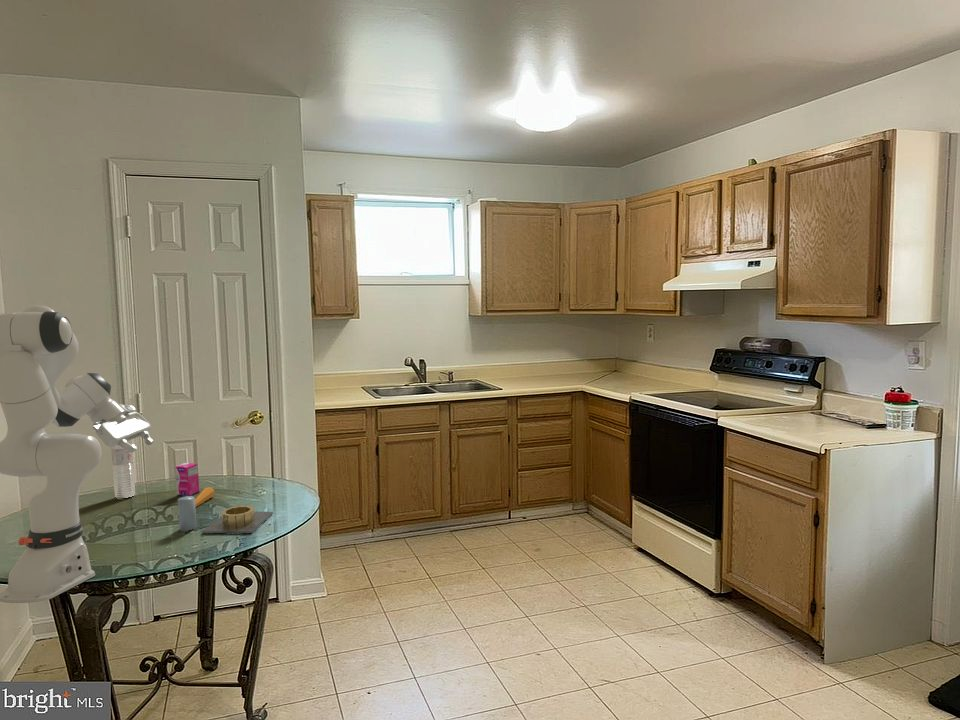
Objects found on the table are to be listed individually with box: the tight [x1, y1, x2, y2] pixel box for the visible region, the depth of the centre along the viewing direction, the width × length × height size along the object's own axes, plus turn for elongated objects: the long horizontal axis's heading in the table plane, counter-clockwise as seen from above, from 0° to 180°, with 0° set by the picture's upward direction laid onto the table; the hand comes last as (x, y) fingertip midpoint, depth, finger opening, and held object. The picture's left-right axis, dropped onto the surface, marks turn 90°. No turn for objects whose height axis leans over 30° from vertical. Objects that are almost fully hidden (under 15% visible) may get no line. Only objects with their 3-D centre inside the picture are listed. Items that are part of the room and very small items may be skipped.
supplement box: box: [174, 462, 200, 497], centre depth 249 cm, size 6×6×12 cm
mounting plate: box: [201, 511, 274, 534], centre depth 215 cm, size 18×16×1 cm
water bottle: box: [110, 440, 136, 499], centre depth 247 cm, size 7×7×25 cm
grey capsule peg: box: [177, 495, 198, 532], centre depth 211 cm, size 5×5×10 cm
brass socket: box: [221, 505, 256, 526], centre depth 214 cm, size 10×10×4 cm
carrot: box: [195, 486, 215, 508], centre depth 236 cm, size 20×4×4 cm, turn 175°
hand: (143, 447), depth 210 cm, fingers open, 8 cm apart
